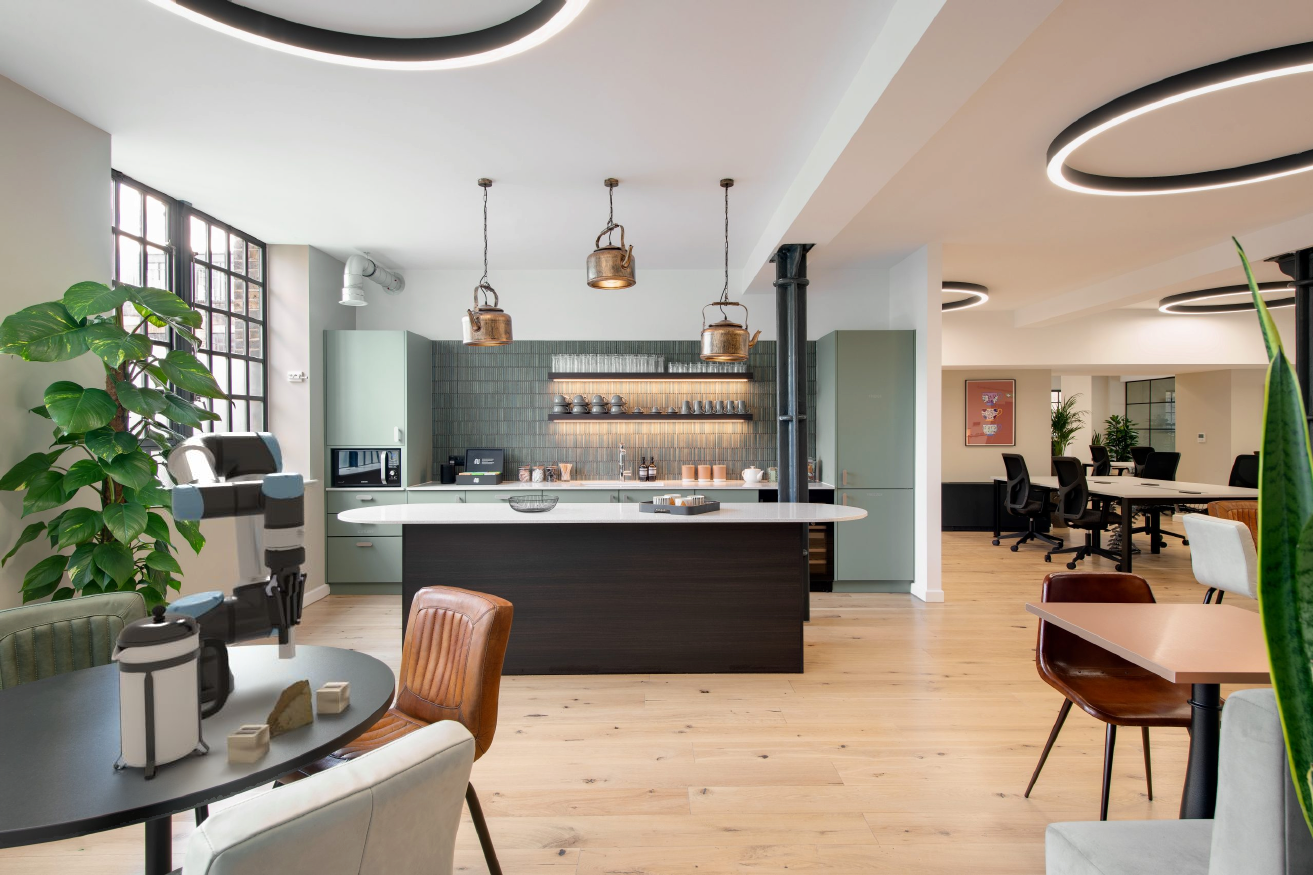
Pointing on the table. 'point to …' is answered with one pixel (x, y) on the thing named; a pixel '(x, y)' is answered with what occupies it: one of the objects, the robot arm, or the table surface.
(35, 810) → the table surface
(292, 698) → the rock
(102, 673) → the table surface
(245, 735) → the birch block
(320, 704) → the birch block
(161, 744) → the coffee press
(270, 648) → the table surface
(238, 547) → the robot arm
